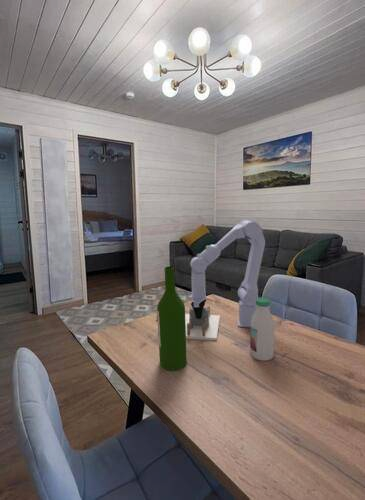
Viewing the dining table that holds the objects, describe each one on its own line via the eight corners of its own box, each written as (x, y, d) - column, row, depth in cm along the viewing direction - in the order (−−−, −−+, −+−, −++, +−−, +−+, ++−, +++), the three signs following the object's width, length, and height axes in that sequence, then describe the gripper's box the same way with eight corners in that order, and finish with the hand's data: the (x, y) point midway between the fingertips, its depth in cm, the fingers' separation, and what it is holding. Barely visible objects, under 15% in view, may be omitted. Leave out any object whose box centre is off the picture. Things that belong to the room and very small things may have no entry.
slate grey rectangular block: (209, 324, 115) (209, 308, 114) (208, 326, 113) (208, 310, 112) (190, 322, 117) (190, 307, 115) (189, 325, 114) (189, 309, 113)
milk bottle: (274, 351, 95) (276, 297, 91) (272, 363, 88) (273, 305, 84) (252, 347, 98) (253, 294, 94) (248, 358, 91) (248, 302, 87)
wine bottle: (159, 356, 94) (155, 265, 88) (185, 354, 95) (182, 263, 89) (159, 372, 85) (154, 272, 79) (188, 369, 86) (185, 270, 80)
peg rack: (220, 317, 123) (220, 306, 122) (216, 340, 103) (216, 327, 102) (185, 315, 127) (185, 304, 126) (175, 337, 106) (175, 324, 105)
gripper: (191, 280, 120) (192, 309, 122) (185, 291, 106) (186, 324, 108) (207, 281, 118) (208, 310, 121) (203, 292, 104) (204, 325, 107)
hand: (199, 317), depth 114 cm, fingers closed on slate grey rectangular block, 2 cm apart
